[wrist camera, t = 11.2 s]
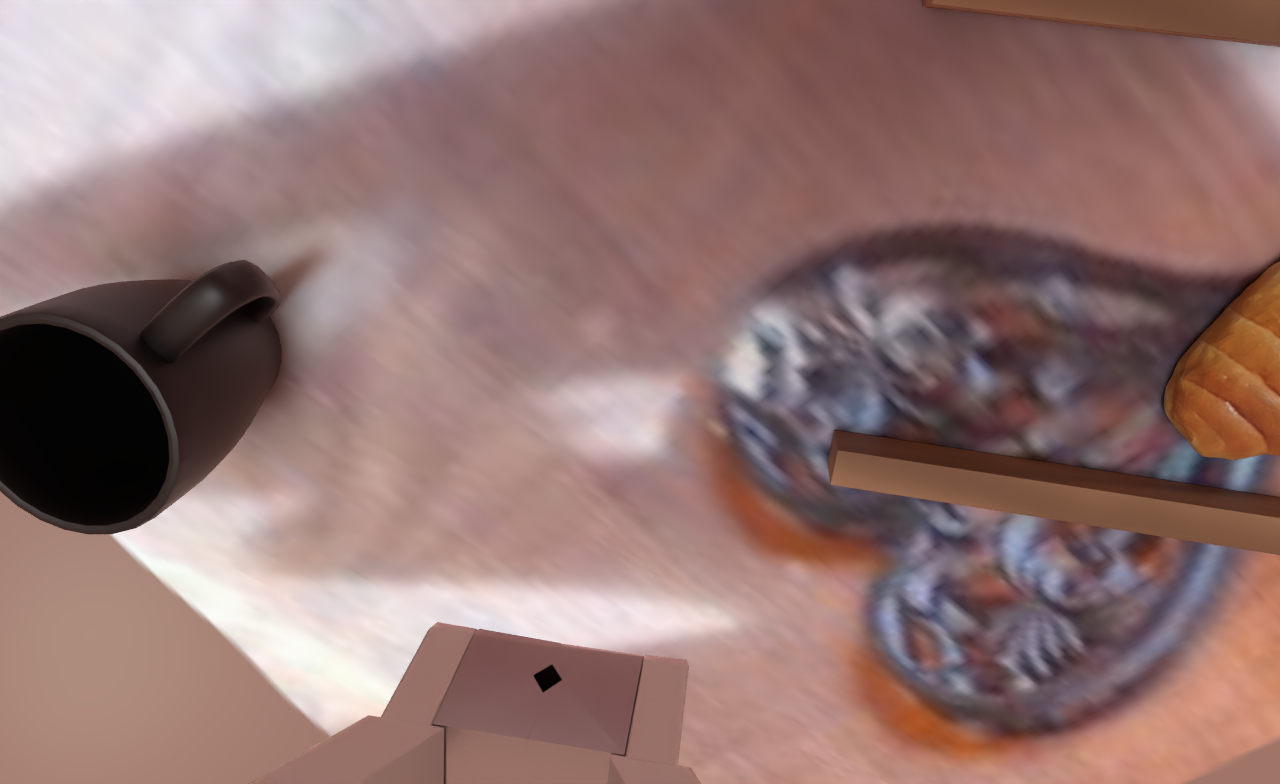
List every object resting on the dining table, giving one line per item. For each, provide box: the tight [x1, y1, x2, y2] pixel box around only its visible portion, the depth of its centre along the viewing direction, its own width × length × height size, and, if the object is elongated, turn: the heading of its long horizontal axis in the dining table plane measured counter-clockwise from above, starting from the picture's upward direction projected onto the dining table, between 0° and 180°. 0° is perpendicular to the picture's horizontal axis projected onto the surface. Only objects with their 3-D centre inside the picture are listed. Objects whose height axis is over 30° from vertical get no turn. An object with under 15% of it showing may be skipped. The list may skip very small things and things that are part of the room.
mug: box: [0, 260, 281, 534], centre depth 34 cm, size 8×12×10 cm
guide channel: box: [828, 0, 1280, 555], centre depth 31 cm, size 19×24×4 cm
